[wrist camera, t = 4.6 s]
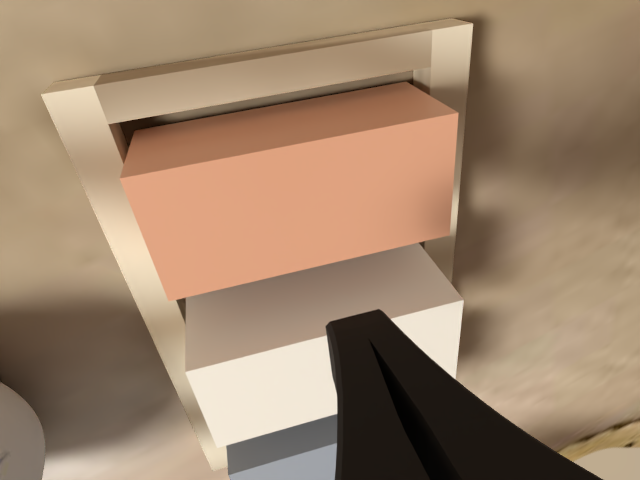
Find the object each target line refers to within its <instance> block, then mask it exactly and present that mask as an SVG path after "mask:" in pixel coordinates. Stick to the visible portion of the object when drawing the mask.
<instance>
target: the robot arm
mask: <svg viewBox="0 0 640 480" xmlns="http://www.w3.org/2000/svg"><path fill="white" fill-rule="evenodd" d="M325 327H326V334H327V341H328V348H329V356H330V363H331V370H332V377H333V381H334V384H335V388H336V392H337V451H336V469H335V480H603V479H601V478H599V477H598V476H596V475H594V474H592V473H591V472H589V471H587V470H585V469H584V468H582V467H580V466H579V465H577V464H575V463H574V462H572V461H570V460H569V459H567V458H565V457H563V456H562V455H560V454H558V453H557V452H555V451H554V450H552V449H551V448H549V447H548V446H546V445H544V444H543V443H541V442H540V441H538V440H537V439H535V438H534V437H532V436H531V435H529V434H528V433H526V432H525V431H523V430H522V429H520V428H519V427H517V426H516V425H515V424H513V423H512V422H510V421H509V420H507V419H506V418H505V417H503V416H502V415H500V414H499V413H498V412H496V411H495V410H494V409H492V408H491V407H490V406H488V405H487V404H486V403H484V402H483V401H482V400H480V399H479V398H478V397H477V396H475V395H474V394H473V393H472V392H470V391H469V390H468V389H466V388H465V387H464V386H463V385H462V384H460V383H459V382H458V381H457V380H455V379H454V378H453V377H452V376H451V375H450V374H448V373H447V372H446V371H445V370H444V369H443V368H442V367H440V366H439V365H438V364H437V363H436V362H435V361H434V360H432V359H431V358H430V357H429V356H428V355H427V354H426V353H425V352H424V351H422V350H421V349H420V348H419V347H418V346H417V345H416V344H415V343H414V342H413V341H412V340H411V339H410V338H409V337H408V336H407V335H406V334H405V333H404V332H403V331H402V330H401V329H400V328H399V327H398V326H397V325H396V324H395V323H394V322H393V321H392V320H391V319H390V318H389V317H388V316H387V315H386V314H385V313H384V312H383V311H382V310H380V309H377V310H373V311H369V312H365V313H361V314H357V315H353V316H349V317H345V318H341V319H337V320H334V321H330V322H329V323H328V324H327V325H326V326H325Z"/></svg>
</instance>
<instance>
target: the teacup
mask: <svg viewBox="0 0 640 480" xmlns="http://www.w3.org/2000/svg"><path fill="white" fill-rule="evenodd" d="M44 463H45V438H44V432H43V429H42V426H41V423H40V420H39V418H38V417H37V415H36V413H35V412H34V410H33V409H32V408H31V406H30V405H29V404H28V403H27V402H26V401H25V400H24V399H23V398H22V397H21V396H20V395H19V394H17V393H16V392H15V391H13V390H12V389H11V388H9V387H8V386H6V385H4V384H3V383H2V382H0V480H42V475H43V469H44Z"/></svg>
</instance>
